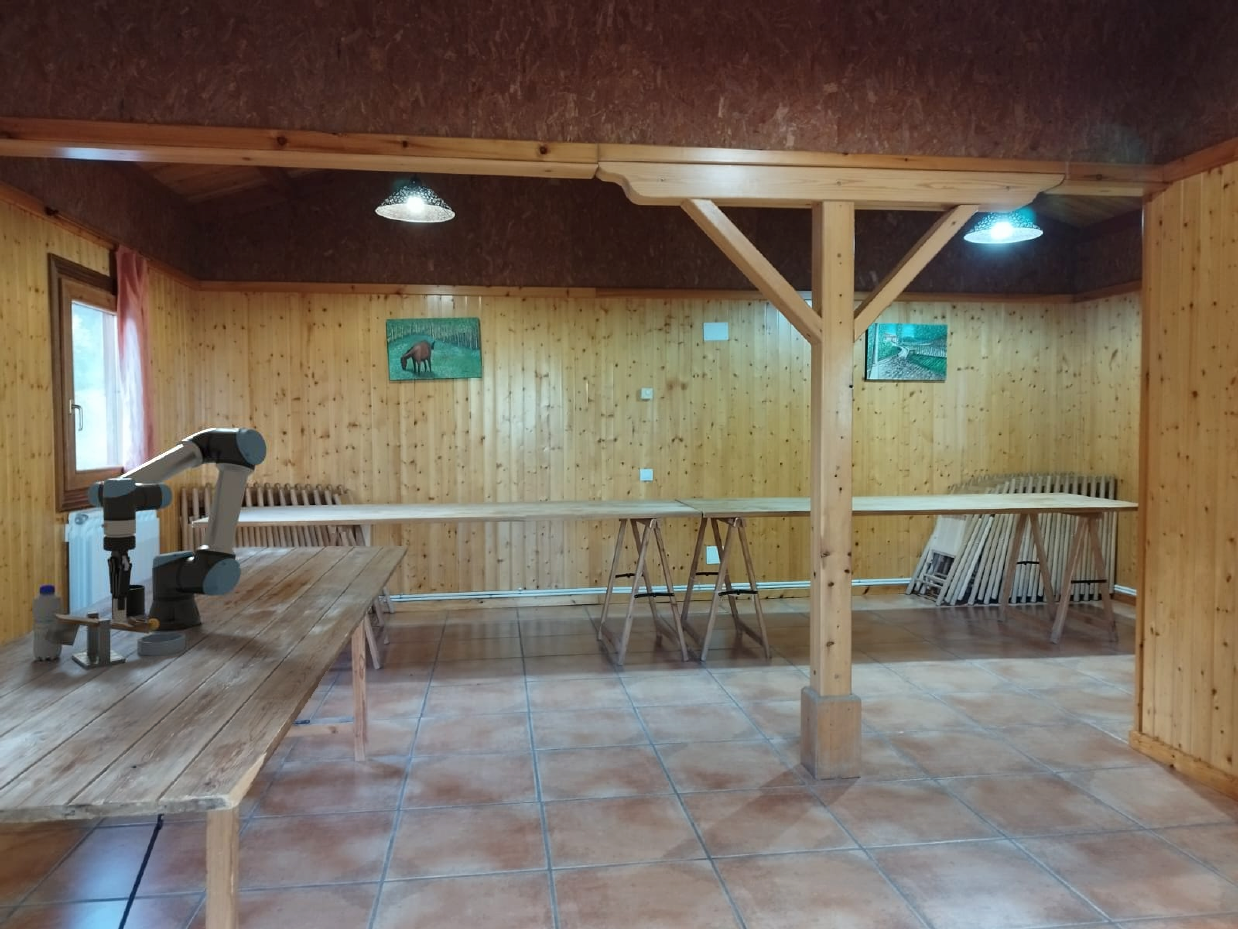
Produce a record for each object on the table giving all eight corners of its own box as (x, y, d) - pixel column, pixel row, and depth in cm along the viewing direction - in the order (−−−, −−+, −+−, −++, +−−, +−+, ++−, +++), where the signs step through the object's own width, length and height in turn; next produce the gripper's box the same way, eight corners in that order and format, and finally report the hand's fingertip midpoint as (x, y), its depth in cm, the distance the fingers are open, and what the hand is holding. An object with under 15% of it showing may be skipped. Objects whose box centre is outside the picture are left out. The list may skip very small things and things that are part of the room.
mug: (150, 608, 278) (150, 582, 278) (140, 616, 266) (140, 589, 266) (119, 610, 275) (119, 583, 275) (107, 618, 264) (107, 590, 263)
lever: (51, 644, 206) (62, 612, 207) (43, 638, 211) (54, 607, 213) (143, 653, 222) (153, 624, 223) (134, 648, 227) (143, 619, 229)
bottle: (27, 662, 214) (27, 587, 213) (38, 655, 220) (38, 582, 219) (57, 661, 215) (56, 586, 215) (66, 654, 222) (66, 582, 221)
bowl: (146, 657, 221) (146, 645, 220) (132, 649, 228) (132, 637, 228) (190, 650, 229) (190, 638, 229) (176, 642, 237) (176, 630, 237)
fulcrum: (86, 669, 209) (86, 623, 209) (71, 658, 219) (71, 614, 218) (125, 662, 216) (125, 618, 215) (109, 652, 225) (109, 609, 225)
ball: (142, 624, 227) (154, 628, 229) (144, 630, 224) (155, 633, 227) (149, 615, 227) (160, 618, 229) (151, 620, 225) (162, 624, 227)
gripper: (96, 533, 221) (96, 619, 222) (111, 538, 212) (111, 627, 213) (127, 531, 227) (127, 615, 228) (142, 536, 218) (142, 623, 219)
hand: (119, 621), depth 221 cm, fingers closed
